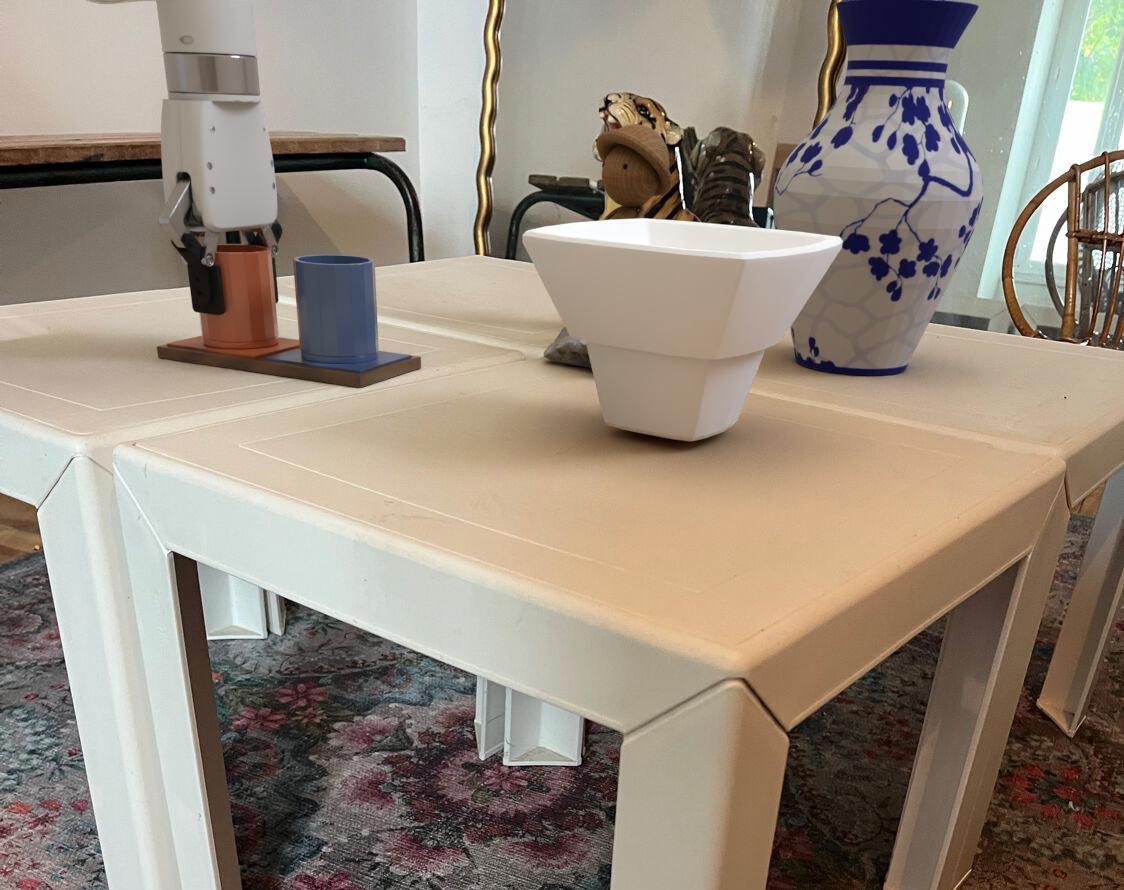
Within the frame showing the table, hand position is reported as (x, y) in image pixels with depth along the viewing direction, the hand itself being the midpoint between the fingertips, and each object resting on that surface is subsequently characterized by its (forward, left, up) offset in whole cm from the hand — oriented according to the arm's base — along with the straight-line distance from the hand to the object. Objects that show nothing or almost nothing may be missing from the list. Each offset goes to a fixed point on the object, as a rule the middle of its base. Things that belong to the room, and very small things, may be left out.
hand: (236, 305), depth 103 cm
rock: (+30, +14, -5) cm, 34 cm away
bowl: (+44, -5, -5) cm, 45 cm away
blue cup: (+11, 0, -3) cm, 11 cm away
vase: (+50, +31, -5) cm, 59 cm away
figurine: (+24, +35, -5) cm, 43 cm away
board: (+5, 0, -4) cm, 7 cm away
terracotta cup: (0, 0, -3) cm, 3 cm away
